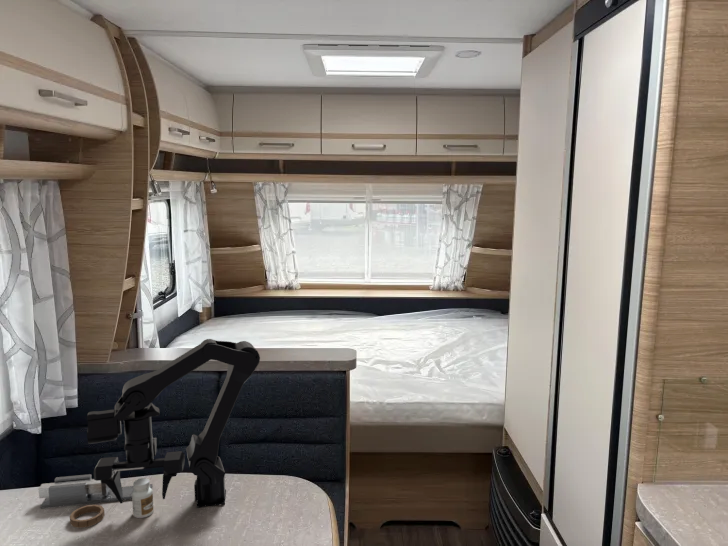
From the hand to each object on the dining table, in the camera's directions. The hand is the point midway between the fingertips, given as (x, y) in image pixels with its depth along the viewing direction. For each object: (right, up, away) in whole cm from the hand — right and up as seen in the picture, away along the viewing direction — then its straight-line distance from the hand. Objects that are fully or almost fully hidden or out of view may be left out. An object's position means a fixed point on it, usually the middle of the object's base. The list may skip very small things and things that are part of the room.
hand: (143, 500), depth 132 cm
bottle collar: (-12, -4, -2) cm, 12 cm away
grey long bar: (-19, -1, +6) cm, 20 cm away
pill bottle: (0, -3, 0) cm, 3 cm away
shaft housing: (-14, -2, +7) cm, 16 cm away
